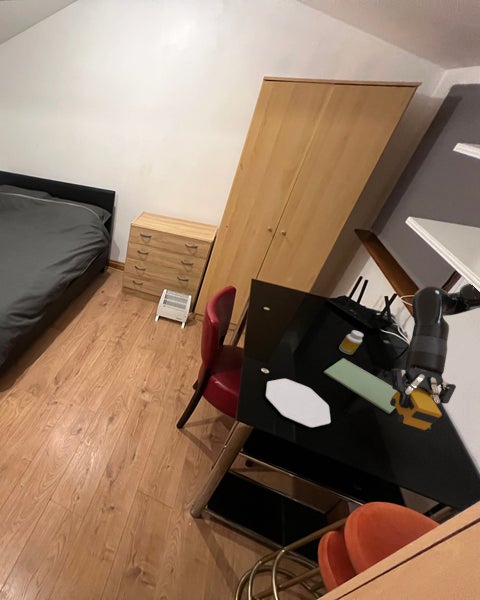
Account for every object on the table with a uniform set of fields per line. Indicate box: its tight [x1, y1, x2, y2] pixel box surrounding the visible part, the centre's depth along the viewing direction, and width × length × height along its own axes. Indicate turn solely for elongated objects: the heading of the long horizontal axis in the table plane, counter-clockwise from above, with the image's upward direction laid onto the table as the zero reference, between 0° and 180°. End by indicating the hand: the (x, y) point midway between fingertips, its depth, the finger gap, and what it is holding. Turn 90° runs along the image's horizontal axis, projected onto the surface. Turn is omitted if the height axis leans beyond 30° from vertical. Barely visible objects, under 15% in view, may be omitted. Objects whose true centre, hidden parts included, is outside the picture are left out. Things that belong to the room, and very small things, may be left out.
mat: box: [323, 357, 397, 415], centre depth 123 cm, size 22×16×1 cm
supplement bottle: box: [338, 329, 364, 355], centre depth 137 cm, size 5×5×10 cm
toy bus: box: [390, 387, 443, 431], centre depth 91 cm, size 10×5×8 cm, turn 156°
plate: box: [265, 378, 332, 429], centre depth 112 cm, size 20×20×2 cm
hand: (416, 411), depth 90 cm, fingers closed on toy bus, 5 cm apart
